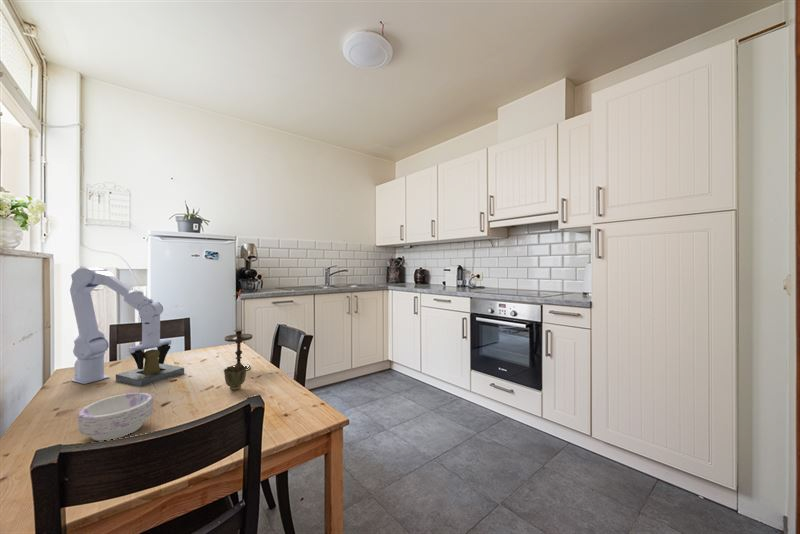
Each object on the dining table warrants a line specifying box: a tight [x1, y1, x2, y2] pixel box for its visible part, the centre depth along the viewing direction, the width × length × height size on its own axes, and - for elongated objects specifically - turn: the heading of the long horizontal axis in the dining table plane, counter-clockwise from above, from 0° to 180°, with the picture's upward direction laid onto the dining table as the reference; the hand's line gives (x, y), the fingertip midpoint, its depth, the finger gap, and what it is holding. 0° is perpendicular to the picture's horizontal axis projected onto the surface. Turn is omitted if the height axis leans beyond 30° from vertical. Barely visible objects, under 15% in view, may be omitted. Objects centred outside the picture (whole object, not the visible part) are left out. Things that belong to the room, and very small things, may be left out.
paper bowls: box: [77, 392, 154, 442], centre depth 87 cm, size 15×15×8 cm
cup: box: [223, 365, 247, 392], centre depth 117 cm, size 8×7×8 cm
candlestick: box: [224, 289, 253, 369], centre depth 140 cm, size 11×11×35 cm
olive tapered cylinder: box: [143, 349, 160, 375], centre depth 129 cm, size 6×6×11 cm
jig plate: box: [115, 363, 185, 388], centre depth 129 cm, size 16×16×2 cm
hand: (151, 366), depth 129 cm, fingers open, 7 cm apart
